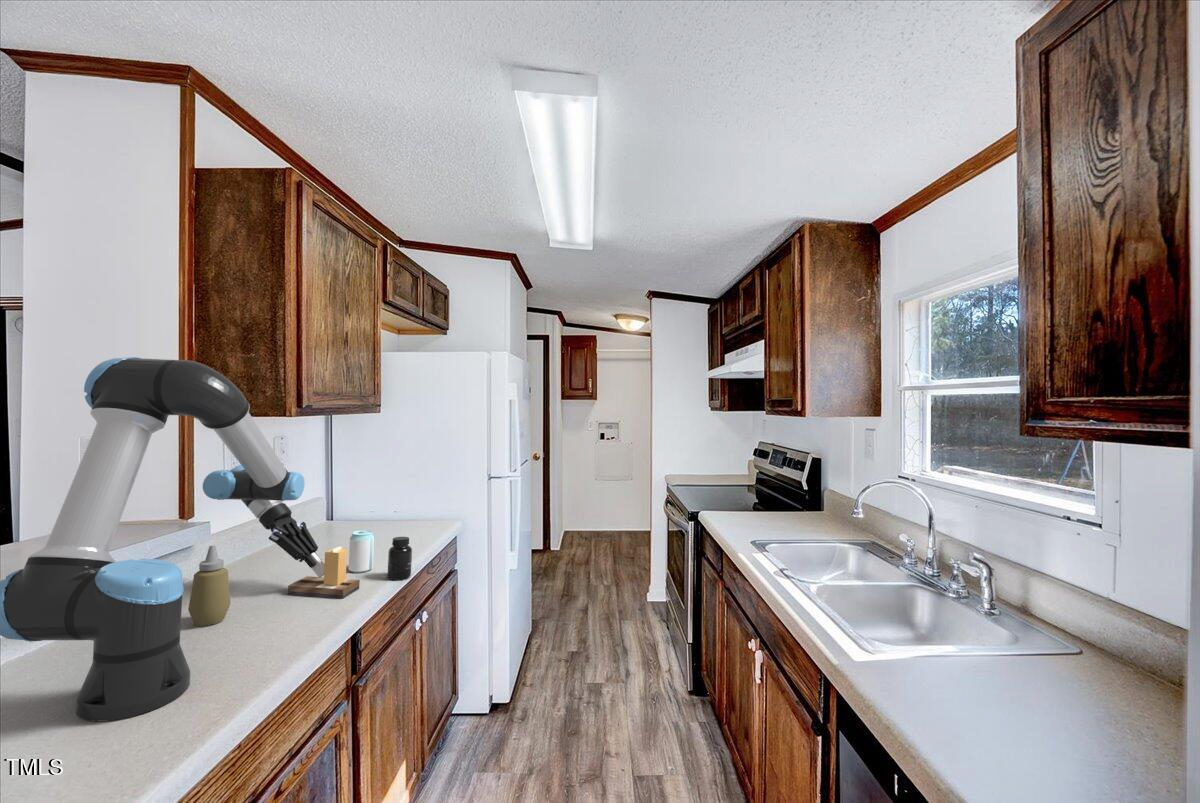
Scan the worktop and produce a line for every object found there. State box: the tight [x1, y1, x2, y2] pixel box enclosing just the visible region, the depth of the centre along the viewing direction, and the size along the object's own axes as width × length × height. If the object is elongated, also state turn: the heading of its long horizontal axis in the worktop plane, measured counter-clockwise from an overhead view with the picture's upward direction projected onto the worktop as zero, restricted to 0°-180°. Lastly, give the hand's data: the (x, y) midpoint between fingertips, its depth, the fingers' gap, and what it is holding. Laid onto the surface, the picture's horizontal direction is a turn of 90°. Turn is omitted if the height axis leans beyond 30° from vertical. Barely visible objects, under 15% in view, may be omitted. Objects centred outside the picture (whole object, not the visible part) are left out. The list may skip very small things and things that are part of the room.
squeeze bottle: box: [188, 545, 231, 627], centre depth 124 cm, size 8×8×18 cm
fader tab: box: [323, 546, 348, 586], centre depth 146 cm, size 4×4×11 cm
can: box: [348, 529, 375, 574], centre depth 165 cm, size 7×7×12 cm
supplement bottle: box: [386, 536, 413, 581], centre depth 160 cm, size 7×7×12 cm
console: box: [287, 575, 361, 600], centre depth 146 cm, size 16×8×3 cm, turn 85°
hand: (324, 573), depth 146 cm, fingers closed
